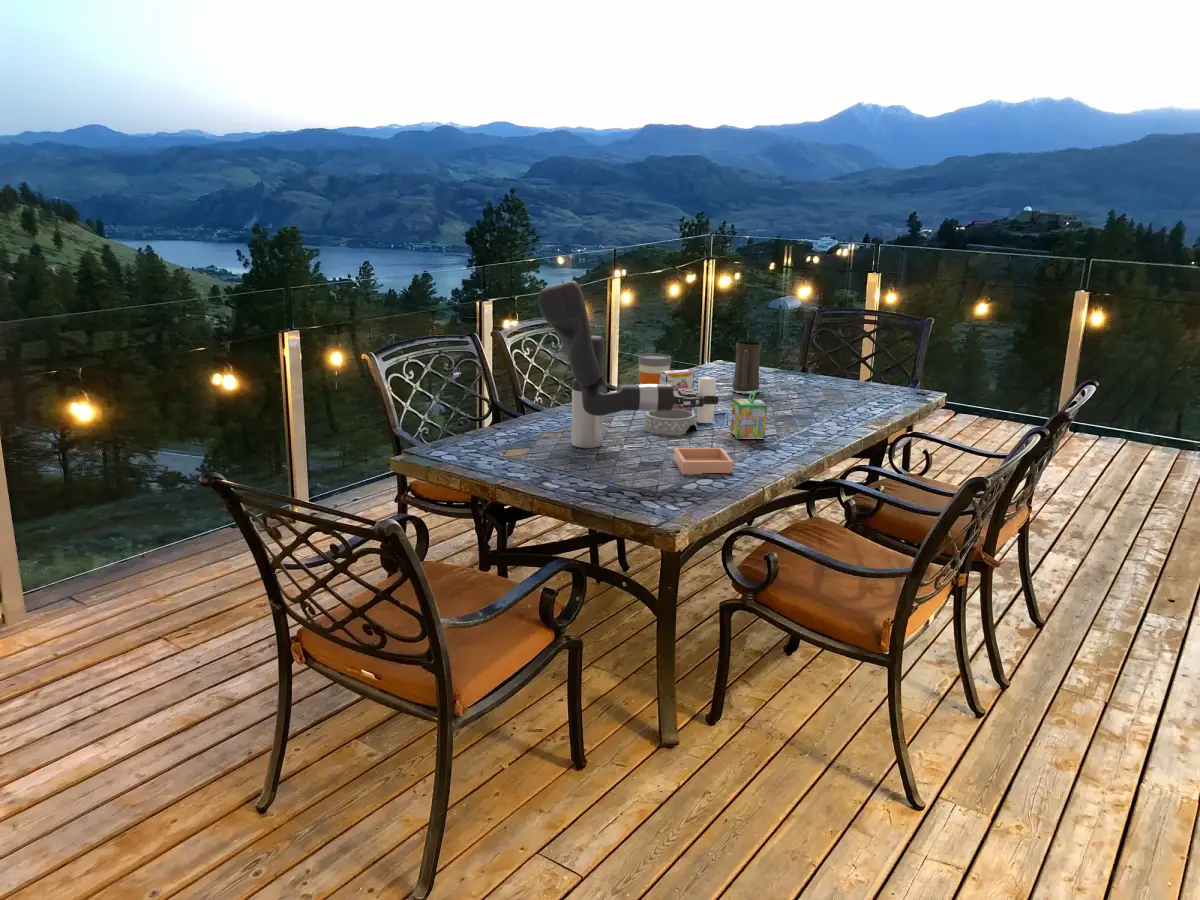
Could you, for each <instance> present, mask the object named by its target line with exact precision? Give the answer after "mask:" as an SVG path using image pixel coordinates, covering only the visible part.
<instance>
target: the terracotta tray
mask: <svg viewBox="0 0 1200 900" xmlns="http://www.w3.org/2000/svg"><path fill="white" fill-rule="evenodd" d="M673 461H674V462H675V465H676V466H677V467H678V469H679V471H680V472H681V474H682V475H703V474H702V473H729V472H733V473H734V460H733V459H732V458H731V456H730V455H729V454H728V453H727V452H726V451H725V449H724V448H723V447H674V449H673Z"/></svg>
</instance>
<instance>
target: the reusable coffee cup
mask: <svg viewBox="0 0 1200 900" xmlns="http://www.w3.org/2000/svg"><path fill="white" fill-rule="evenodd" d="M637 364H638V365H639V366H638V367H639V368H638V378H639V383H640V385H642V384H660V371H670V370H671V369H670V368H671V365H672V357H671V355H668V354H664V353H663V354H662V353H643V354H640V355H638V361H637Z"/></svg>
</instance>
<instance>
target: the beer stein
mask: <svg viewBox="0 0 1200 900" xmlns="http://www.w3.org/2000/svg"><path fill="white" fill-rule="evenodd" d="M735 349H736V352H735V354H736V355H735V364H734V373H733V374H734V376H733V382H732V388H733V389H734V390H738V391H751V390H752V391H754V390H758V389H759V390H760V362H761V361H760V360H761V358H760V357H761V351H762V349H763V347H762V342H759V341H756V340H740V341H737V342H736V343H735Z"/></svg>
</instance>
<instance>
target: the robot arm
mask: <svg viewBox="0 0 1200 900" xmlns="http://www.w3.org/2000/svg"><path fill="white" fill-rule="evenodd" d="M537 301H538V302H537V303H538V308H539V310H540V313H541V314H542V317H543V318H544V320H545V321H546V322H547V324H548V325H549V326H551V328H552V329H553V331H554V333H555V335H556V336H557V338H558V340H559V341H560V343H561V344H562V347H563V348H564V350H565V353H566V357H567V359H568V360H567V361H568V362H569V365H570V368H571V372H572V374H573V377H574V378H573V379H572V382H571V385H572V386H571V445H572V446H574V447H577V448H581V449H592V448H593V449H594V448H597V447H601V446H602V443H603V442H602V441H603V440H602V439H603V438H602V437H603V416H607V415H610V414H615V413H619V412H623V411H641V412H648V411H671V410H672V409H673V405H674V404H678V405H679V406H683V407H684V408H688V407H692V408H697V407H703V405H704V404H715V405H718V403H719V396H718V395H715V396H704V395H702V396H701V395H698V389H696V388H693V389H679V388H676V391H673V386H672V385H671V384H642V385H641V384H622V385H621V384H620V385H619V386H618V387H617V388H616V392H612V393H608V389H607V385H606V383H605V379H604V363H605V348H606V347H605V340H604V337H602V336H601V335H592V332H591V330H592V329H591V326H590V322H589V315H588V312H587V307H586V301H585V298H584V294H583V292H582V289H581V287H580V285H579V283H578V282H577V281H576V280H567V281H564V282H560V283H557V284H553V285H548V286H545V287H543V289H541V290H540V291H539V293H538V298H537ZM688 392H689V393H688ZM697 400H699V402H697Z"/></svg>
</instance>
